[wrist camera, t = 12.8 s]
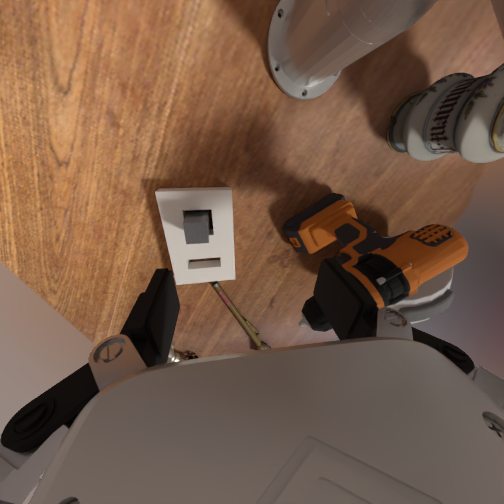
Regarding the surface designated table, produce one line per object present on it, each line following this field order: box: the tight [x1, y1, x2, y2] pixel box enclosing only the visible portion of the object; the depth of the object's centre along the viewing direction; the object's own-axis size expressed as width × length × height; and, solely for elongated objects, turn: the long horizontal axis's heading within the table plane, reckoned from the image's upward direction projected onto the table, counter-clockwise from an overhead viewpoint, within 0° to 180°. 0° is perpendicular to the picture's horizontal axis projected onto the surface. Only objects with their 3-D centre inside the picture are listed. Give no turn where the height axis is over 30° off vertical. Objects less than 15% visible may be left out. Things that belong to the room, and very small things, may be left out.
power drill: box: [283, 193, 468, 332], centre depth 33 cm, size 22×7×25 cm, turn 121°
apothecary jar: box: [387, 64, 504, 163], centre depth 29 cm, size 12×12×18 cm
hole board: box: [155, 187, 235, 285], centre depth 39 cm, size 20×13×3 cm, turn 179°
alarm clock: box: [338, 236, 454, 324], centre depth 43 cm, size 21×8×20 cm, turn 111°
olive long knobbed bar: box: [212, 281, 271, 350], centre depth 54 cm, size 5×35×5 cm
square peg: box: [183, 210, 210, 244], centre depth 35 cm, size 4×4×8 cm
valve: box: [167, 341, 198, 363], centre depth 53 cm, size 7×7×12 cm
